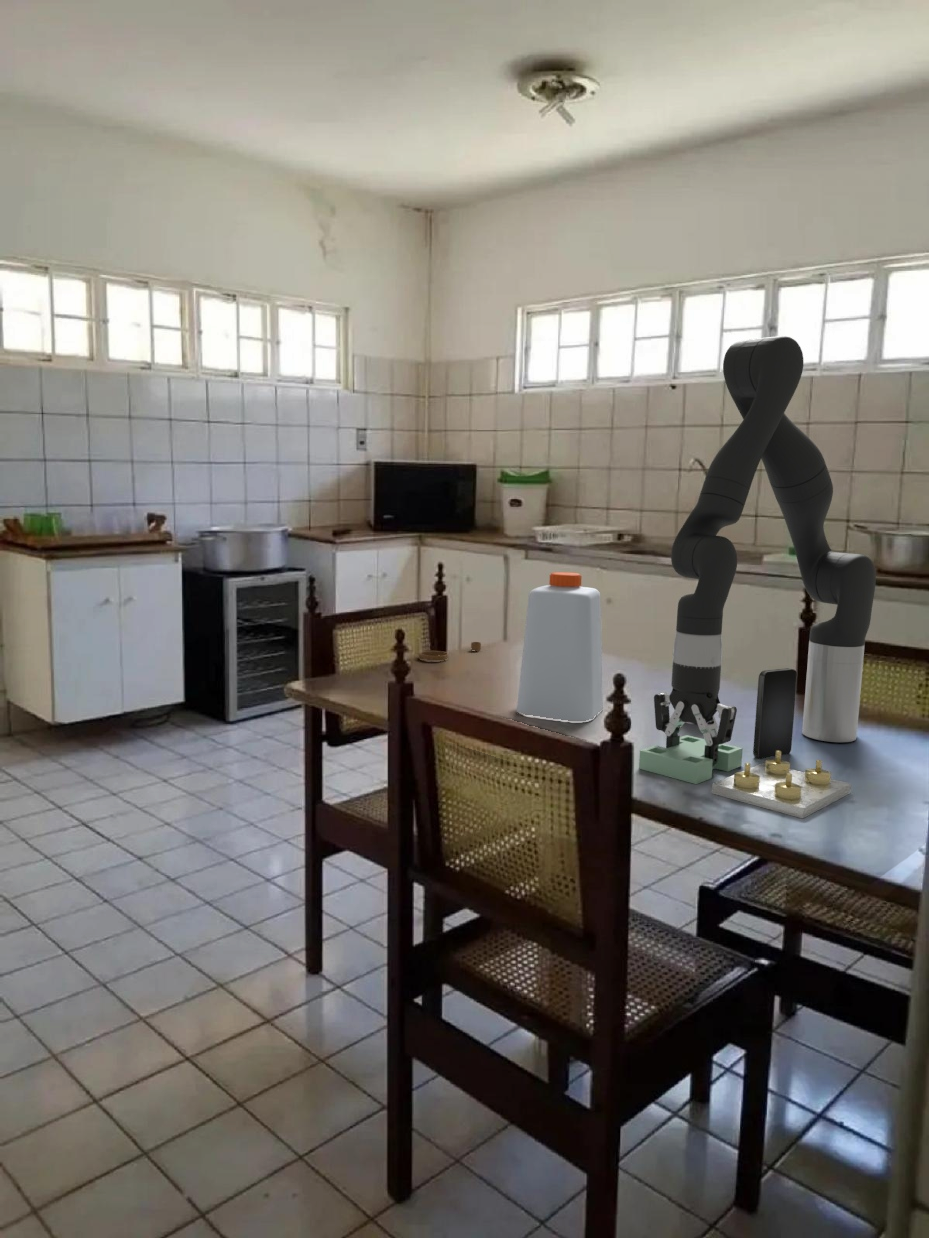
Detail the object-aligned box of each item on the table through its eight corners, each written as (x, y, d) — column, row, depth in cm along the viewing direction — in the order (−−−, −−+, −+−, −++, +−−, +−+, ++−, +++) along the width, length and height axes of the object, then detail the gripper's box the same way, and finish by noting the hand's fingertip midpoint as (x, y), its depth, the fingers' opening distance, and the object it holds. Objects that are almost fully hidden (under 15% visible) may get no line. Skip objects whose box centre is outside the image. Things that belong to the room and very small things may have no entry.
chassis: (711, 793, 139) (713, 762, 138) (762, 771, 150) (765, 742, 149) (802, 818, 129) (805, 784, 128) (850, 793, 140) (852, 762, 140)
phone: (785, 753, 161) (792, 667, 159) (790, 755, 160) (797, 668, 158) (752, 758, 157) (758, 671, 155) (757, 760, 156) (763, 672, 154)
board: (638, 768, 150) (639, 750, 149) (685, 752, 160) (686, 735, 159) (696, 784, 143) (697, 765, 142) (741, 765, 153) (742, 748, 152)
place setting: (401, 666, 231) (401, 643, 230) (478, 664, 236) (479, 641, 235) (417, 681, 214) (417, 656, 213) (500, 678, 220) (501, 653, 219)
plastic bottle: (607, 712, 187) (613, 572, 183) (587, 730, 173) (594, 579, 169) (534, 703, 192) (539, 568, 188) (510, 720, 178) (515, 574, 174)
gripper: (750, 664, 146) (742, 768, 149) (670, 651, 156) (665, 748, 159) (726, 670, 141) (718, 777, 143) (645, 656, 151) (639, 757, 153)
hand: (690, 762), depth 151 cm, fingers closed on board, 6 cm apart
